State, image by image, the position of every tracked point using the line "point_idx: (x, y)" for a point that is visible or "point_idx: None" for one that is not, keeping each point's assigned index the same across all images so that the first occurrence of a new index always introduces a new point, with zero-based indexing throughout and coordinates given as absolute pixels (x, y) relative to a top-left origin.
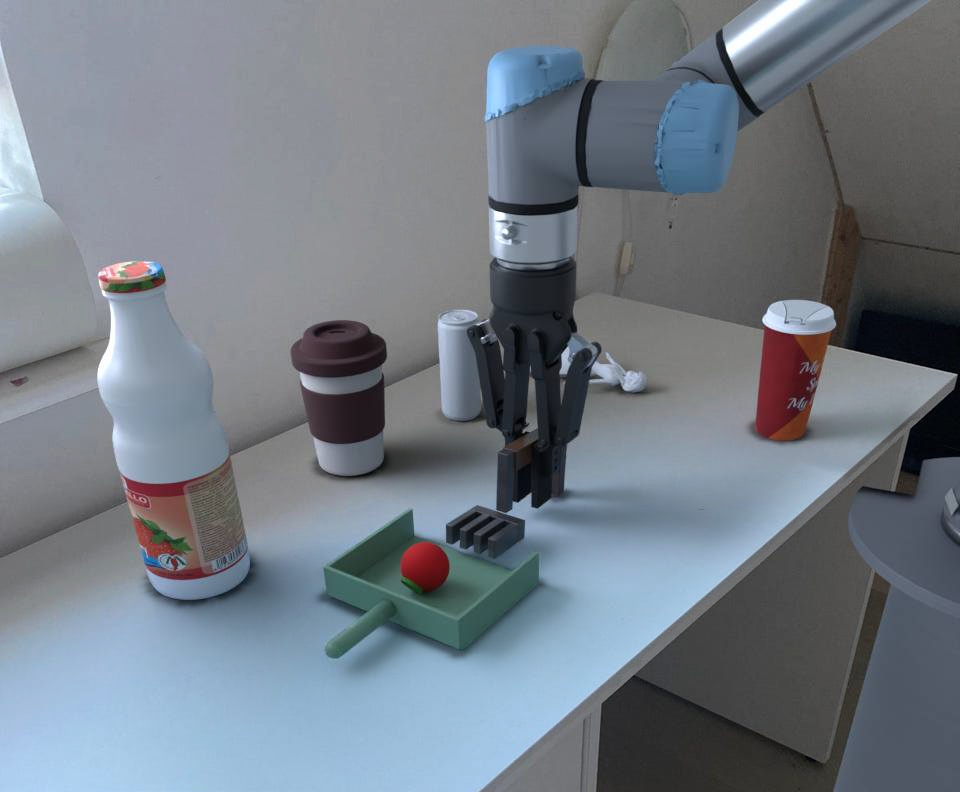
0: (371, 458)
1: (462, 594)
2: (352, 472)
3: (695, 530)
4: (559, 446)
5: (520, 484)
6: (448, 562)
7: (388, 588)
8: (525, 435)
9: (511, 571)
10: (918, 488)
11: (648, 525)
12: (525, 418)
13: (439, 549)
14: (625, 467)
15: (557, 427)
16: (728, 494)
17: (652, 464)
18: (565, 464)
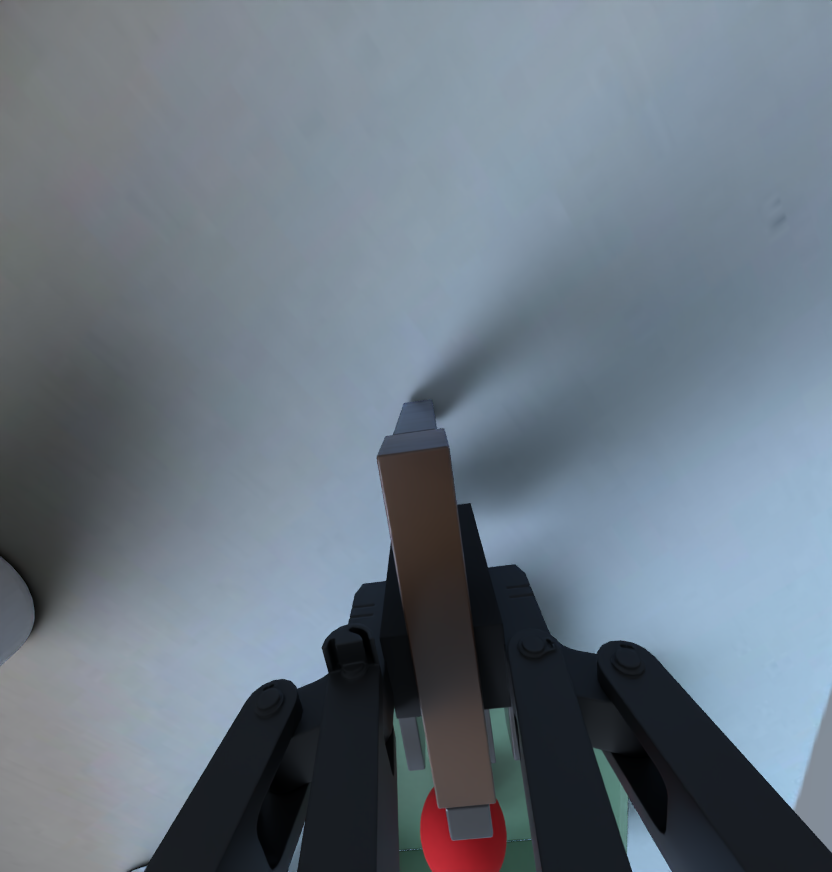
0: (5, 623)
1: (518, 766)
2: (23, 643)
3: (799, 330)
4: (548, 632)
5: None
6: (498, 824)
7: (414, 810)
8: (424, 694)
9: (620, 799)
10: None
11: (685, 385)
12: (380, 701)
13: (487, 860)
14: (472, 141)
15: (638, 812)
16: (827, 71)
17: (531, 53)
18: (433, 412)
